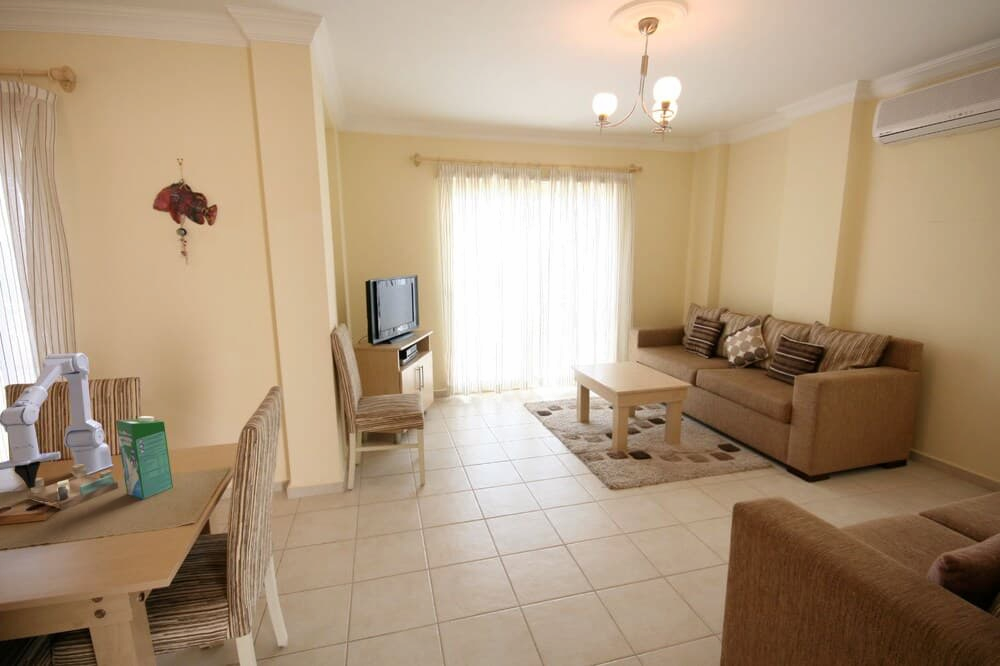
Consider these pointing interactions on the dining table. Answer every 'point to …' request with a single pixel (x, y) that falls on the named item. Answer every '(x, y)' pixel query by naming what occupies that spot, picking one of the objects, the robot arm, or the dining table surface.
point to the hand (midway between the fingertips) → (31, 486)
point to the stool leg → (63, 490)
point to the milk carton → (144, 456)
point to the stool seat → (75, 487)
